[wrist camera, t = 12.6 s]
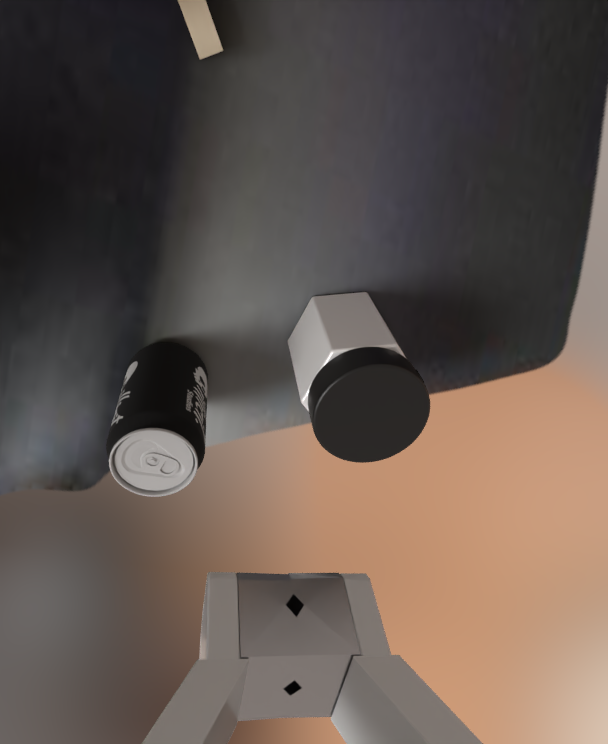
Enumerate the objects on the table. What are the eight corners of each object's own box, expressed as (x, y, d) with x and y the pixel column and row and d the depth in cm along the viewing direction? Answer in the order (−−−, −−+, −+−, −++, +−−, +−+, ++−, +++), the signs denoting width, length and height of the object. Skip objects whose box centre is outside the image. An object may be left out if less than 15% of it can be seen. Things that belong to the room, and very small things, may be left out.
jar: (353, 391, 50) (388, 481, 40) (274, 360, 47) (288, 448, 37) (406, 310, 46) (459, 385, 36) (323, 271, 43) (354, 341, 33)
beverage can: (150, 324, 44) (129, 409, 34) (222, 360, 46) (222, 449, 36) (115, 384, 46) (85, 480, 36) (184, 415, 49) (175, 513, 39)
